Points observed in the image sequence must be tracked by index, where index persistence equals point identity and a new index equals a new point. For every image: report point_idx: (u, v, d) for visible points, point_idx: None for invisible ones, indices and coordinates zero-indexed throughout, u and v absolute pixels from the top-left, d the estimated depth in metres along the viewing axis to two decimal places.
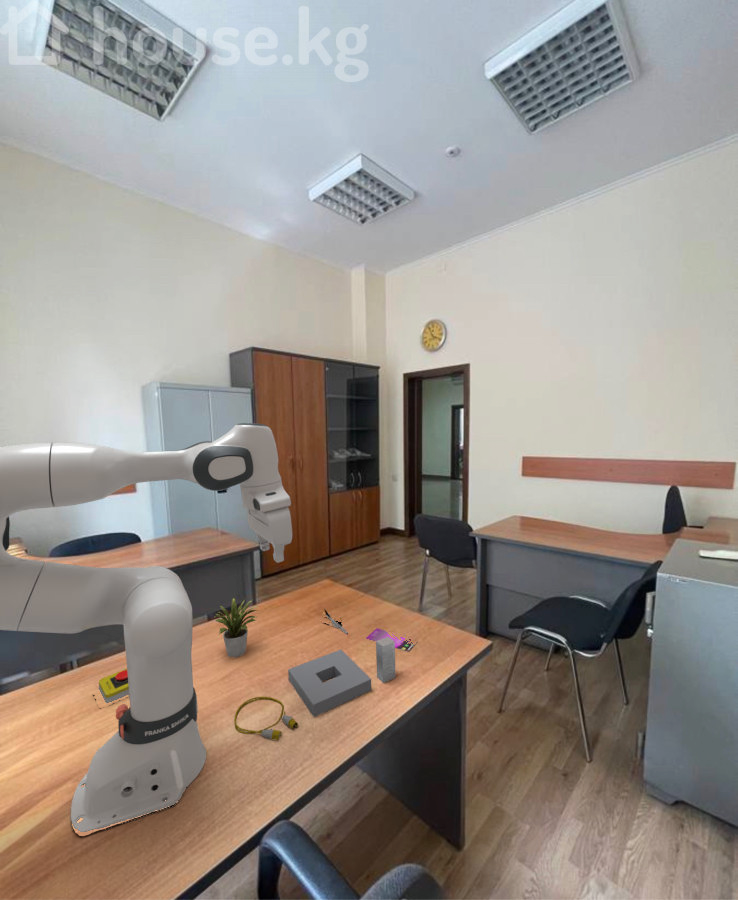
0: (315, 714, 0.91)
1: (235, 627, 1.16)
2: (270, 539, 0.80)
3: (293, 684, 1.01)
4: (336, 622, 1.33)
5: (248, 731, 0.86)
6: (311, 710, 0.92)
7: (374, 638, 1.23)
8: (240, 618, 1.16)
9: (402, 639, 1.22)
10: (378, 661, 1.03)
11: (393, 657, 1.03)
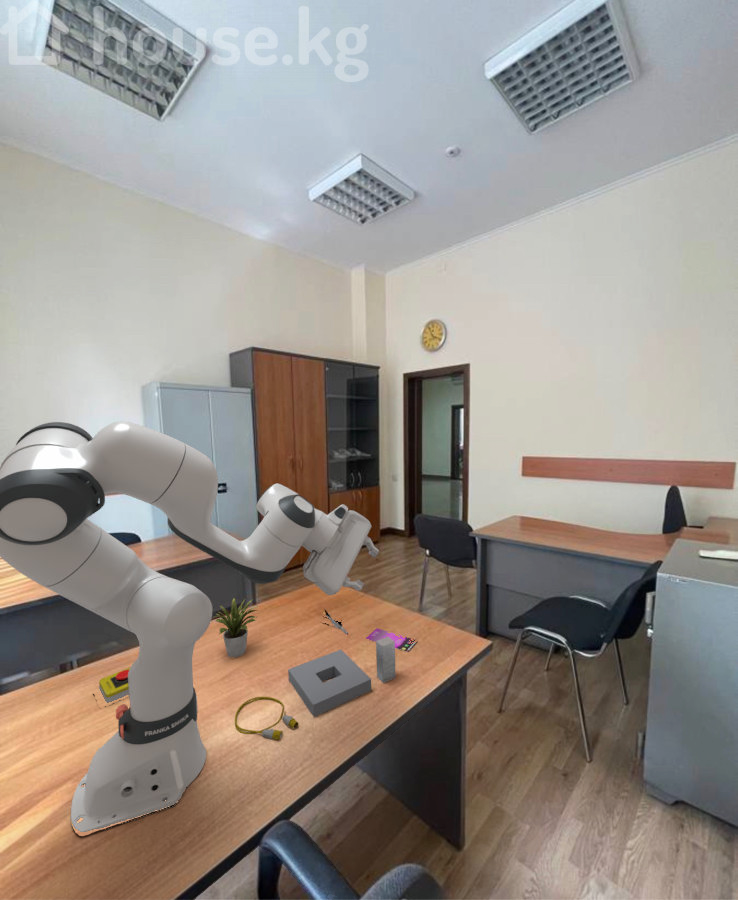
0: (315, 714, 0.91)
1: (235, 627, 1.16)
2: (364, 530, 0.94)
3: (293, 684, 1.01)
4: (336, 622, 1.33)
5: (249, 731, 0.86)
6: (311, 710, 0.92)
7: (374, 638, 1.23)
8: (240, 618, 1.16)
9: (402, 639, 1.22)
10: (378, 661, 1.03)
11: (393, 657, 1.03)
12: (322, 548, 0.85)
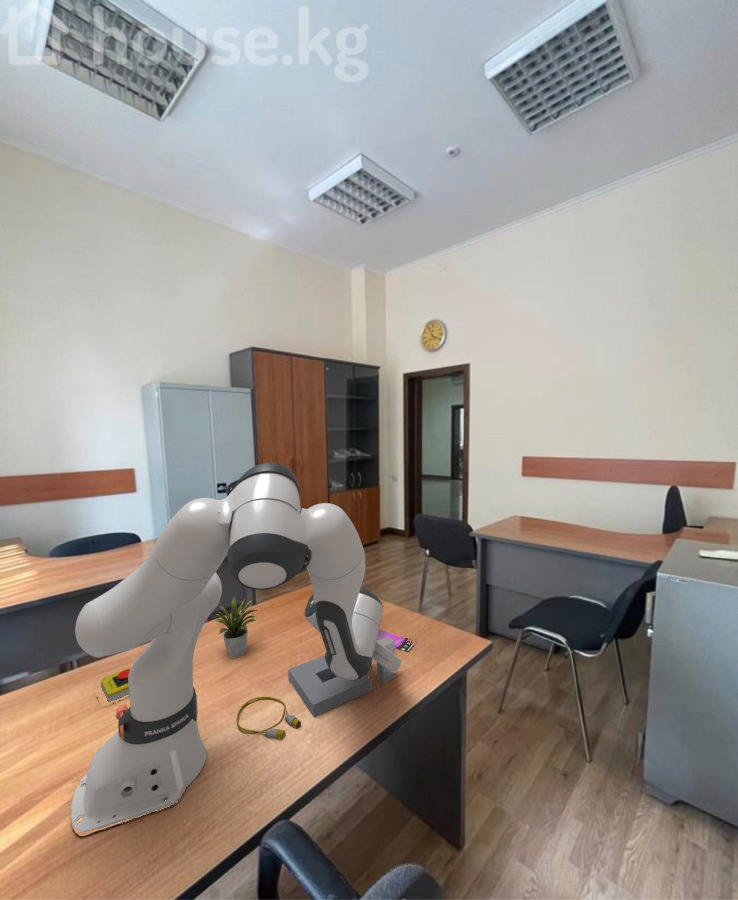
0: (315, 714, 0.91)
1: (235, 627, 1.16)
2: None
3: (293, 684, 1.01)
4: None
5: (251, 731, 0.86)
6: (311, 710, 0.92)
7: None
8: (240, 618, 1.16)
9: (401, 640, 1.22)
10: None
11: None
12: None
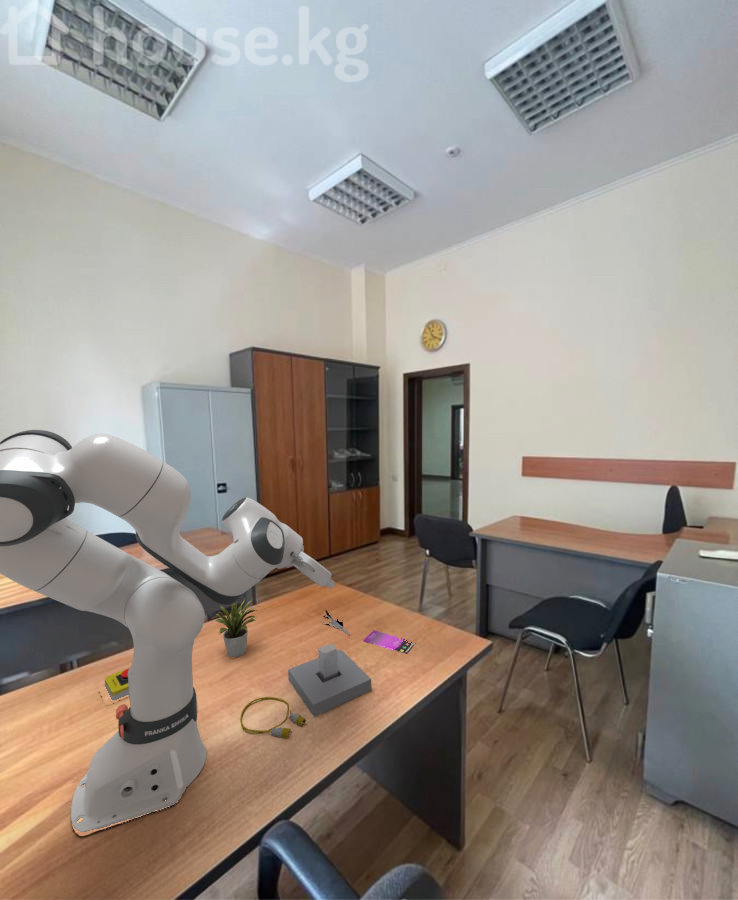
0: (315, 714, 0.91)
1: (235, 627, 1.16)
2: None
3: (293, 684, 1.01)
4: (337, 623, 1.32)
5: (256, 731, 0.86)
6: (311, 710, 0.92)
7: (371, 640, 1.22)
8: (240, 618, 1.16)
9: (400, 641, 1.21)
10: (320, 668, 1.01)
11: (335, 665, 1.01)
12: (300, 547, 0.89)
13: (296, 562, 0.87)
